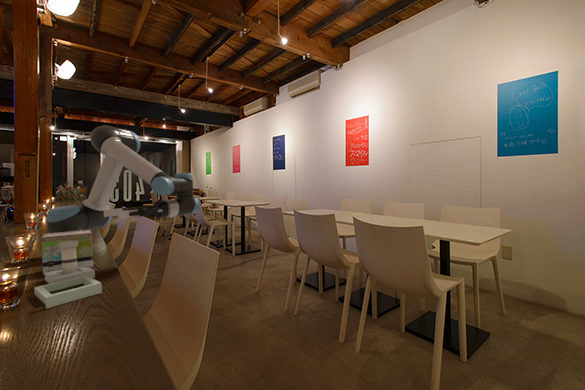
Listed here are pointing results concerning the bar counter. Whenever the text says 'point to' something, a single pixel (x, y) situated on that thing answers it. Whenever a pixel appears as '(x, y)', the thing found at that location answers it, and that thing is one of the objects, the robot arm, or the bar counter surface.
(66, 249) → the fuse
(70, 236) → the tea box
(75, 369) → the bar counter surface
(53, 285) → the parts tray
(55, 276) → the white square dish
